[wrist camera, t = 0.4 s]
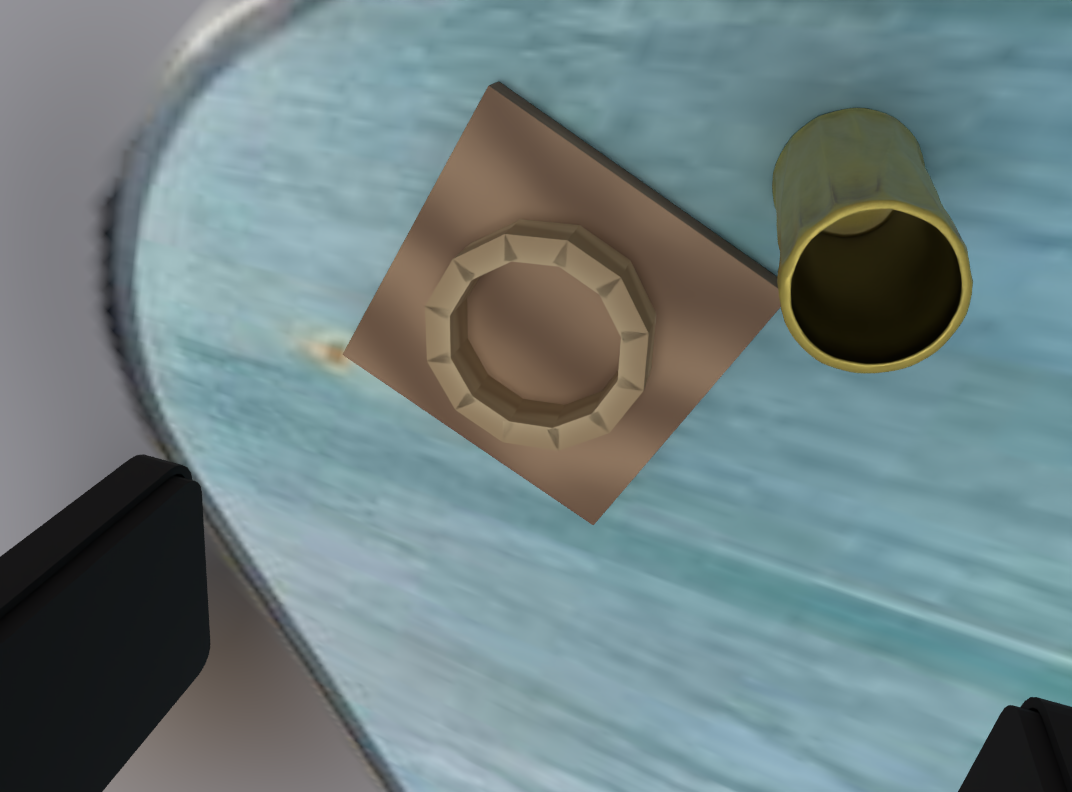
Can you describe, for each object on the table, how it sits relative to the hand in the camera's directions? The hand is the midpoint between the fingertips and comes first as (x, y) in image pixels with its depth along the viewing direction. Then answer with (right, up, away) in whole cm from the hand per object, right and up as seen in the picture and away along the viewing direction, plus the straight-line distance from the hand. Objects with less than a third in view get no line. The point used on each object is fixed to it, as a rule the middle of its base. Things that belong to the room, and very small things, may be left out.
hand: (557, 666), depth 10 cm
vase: (+13, +12, +27) cm, 33 cm away
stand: (+1, +7, +33) cm, 34 cm away
